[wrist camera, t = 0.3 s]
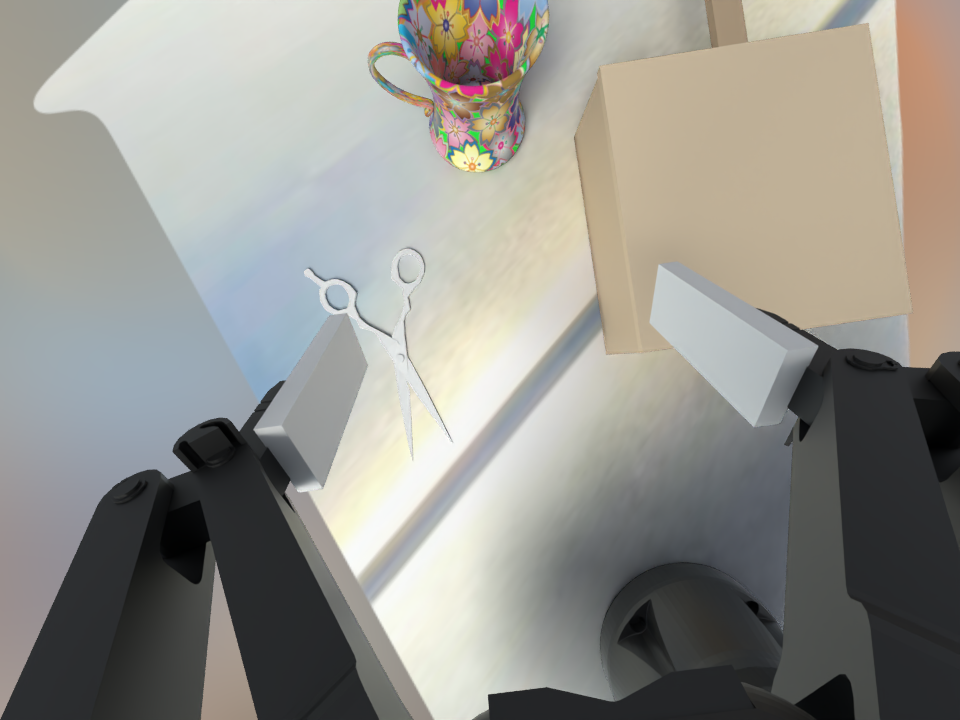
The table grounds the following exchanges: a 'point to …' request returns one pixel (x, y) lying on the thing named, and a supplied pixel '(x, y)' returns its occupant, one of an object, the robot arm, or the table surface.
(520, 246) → the table surface
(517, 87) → the mug
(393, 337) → the scissors
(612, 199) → the box
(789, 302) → the lid
